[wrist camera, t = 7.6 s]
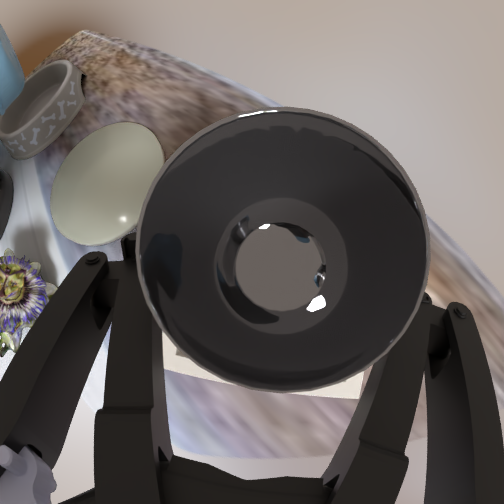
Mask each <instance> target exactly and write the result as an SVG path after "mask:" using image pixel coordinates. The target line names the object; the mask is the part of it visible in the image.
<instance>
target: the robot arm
mask: <svg viewBox="0 0 504 504" xmlns="http://www.w3.org/2000/svg"><path fill="white" fill-rule="evenodd" d="M24 84H25V78H24V73H23V70H22V67H21V65H20V63H19V60H18V58H17V56H16V53H15V51H14V49H13V47H12V45H11V43H10V41H9V39H8V37H7V35H6V33H5V31H4V29H3V28H2V26H1V24H0V116H1V115H3V114H4V113H5V110H6V109H7V108H8V107H9V106H10V105H11V103H12V102H13V101H14V100H15V99H16V98H17V97H18V96H19V95H20V94H21V92H22V90H23V88H24ZM12 199H13V184H12V180H11V177H10V176H9V175H8V174H7V173H6V172H4V171H3V170H2V169H0V239H1V237H2V234H3V232H4V229H5V227H6V224H7V221H8V218H9V214H10V210H11V205H12ZM136 234H137V232H134V233H130V234H128V235H126V236H124V237H123V238H122V240H121V246H122V252H123V257H124V260H123V261H109V262H108V259H107V256H106V254H105V253H103V252H99V251H97V252H95V251H94V252H90V253H88V254H86V255H84V256H83V257H81V258H80V260H79V261H78V262H77V263H76V265H75V266H74V267H73V269H72V270H71V271H70V272H69V274H68V275H67V276H66V278H65V279H64V281H63V282H62V283H61V285H60V286H59V287H58V289H57V290H56V292H55V293H54V294H53V296H52V297H51V299H50V300H49V302H48V303H47V304H46V306H45V307H44V309H43V310H42V312H41V313H40V315H39V316H38V318H37V319H36V321H35V323H34V324H33V326H32V327H31V329H30V330H29V332H28V334H27V335H26V337H25V338H24V340H23V342H22V343H21V345H20V347H19V349H18V350H17V352H16V354H15V355H14V357H13V359H12V361H11V363H10V364H9V366H8V368H7V370H6V372H5V374H4V376H3V377H2V379H1V381H0V504H51V500H50V493H52V492H54V491H55V490H56V486H57V484H56V481H55V480H54V477H53V473H52V469H53V468H54V466H55V464H56V462H57V460H58V458H59V456H60V453H61V451H62V448H63V445H64V442H65V439H66V436H67V433H68V430H69V427H70V424H71V421H72V418H73V415H74V412H75V410H76V407H77V404H78V401H79V399H80V396H81V393H82V391H83V388H84V386H85V383H86V380H87V378H88V375H89V373H90V371H91V368H92V366H93V363H94V361H95V358H96V356H97V354H98V351H99V349H100V347H101V344H102V342H103V340H104V338H105V335H106V333H107V331H108V329H109V327H110V324H111V322H112V325H111V332H110V340H109V348H108V357H107V366H106V377H105V390H104V404H103V408H102V409H99V410H97V412H96V415H95V424H94V483H95V487H94V488H92V489H90V490H88V491H86V492H84V493H82V494H79V495H77V496H75V497H73V498H70V499H68V500H66V501H63V502H61V503H58V504H395V501H396V499H397V496H398V493H399V491H400V488H401V485H402V483H403V480H404V477H405V474H406V471H407V468H408V464H409V459H408V457H407V456H405V453H404V452H405V448H406V445H407V441H408V438H409V435H410V431H411V427H412V424H413V420H414V416H415V412H416V408H417V403H418V399H419V394H420V389H421V384H422V379H423V373H424V374H425V385H426V400H427V430H428V443H427V444H428V445H427V473H426V486H425V497H424V504H504V446H503V437H502V430H501V423H500V416H499V411H498V405H497V400H496V395H495V390H494V386H493V382H492V377H491V373H490V369H489V366H488V362H487V358H486V355H485V351H484V348H483V345H482V342H481V338H480V335H479V332H478V329H477V326H476V323H475V321H474V318H473V315H472V313H471V311H470V310H469V309H468V308H467V307H466V306H465V305H463V304H461V303H458V302H451V303H450V304H449V305H448V307H447V309H443V308H440V307H437V306H434V305H432V300H431V298H430V296H429V295H428V294H427V293H426V292H424V295H423V297H422V300H421V303H420V306H419V309H418V311H417V312H416V314H415V316H414V318H413V320H412V321H411V323H410V325H409V326H408V328H407V330H406V331H405V333H404V334H403V335H402V337H401V338H400V339H399V340H398V341H397V342H396V344H395V345H394V346H393V347H392V348H391V349H390V350H389V351H388V353H387V354H385V355H384V356H383V357H382V358H380V359H379V360H378V361H376V362H375V363H374V365H373V367H372V370H371V373H370V375H369V378H368V381H367V383H366V386H365V388H364V391H363V393H362V396H361V398H360V401H359V403H358V406H357V408H356V410H355V413H354V415H353V417H352V419H351V422H350V424H349V426H348V428H347V430H346V432H345V435H344V437H343V439H342V441H341V443H340V445H339V447H338V449H337V451H336V453H335V455H334V457H333V459H332V461H331V463H330V464H329V466H328V468H327V469H326V471H325V472H324V474H323V475H322V477H321V478H302V477H288V476H285V477H277V478H268V479H258V480H244V479H241V478H239V477H236V476H234V475H231V474H229V473H227V472H225V471H222V470H220V469H218V468H216V467H214V466H211V465H209V464H206V463H202V462H198V461H194V460H190V459H186V458H182V457H178V456H175V455H174V454H173V450H172V446H171V441H170V433H169V424H168V414H167V404H166V392H165V379H164V363H163V341H162V329H161V328H160V327H159V325H158V323H157V322H156V320H155V318H154V316H153V314H152V312H151V310H150V308H149V307H148V305H147V303H146V300H145V297H144V294H143V291H142V287H141V284H140V281H139V277H138V270H137V262H136V252H135V249H136Z"/></svg>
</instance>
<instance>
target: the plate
mask: <svg viewBox="0 0 504 504" xmlns="http://www.w3.org/2000/svg"><path fill="white" fill-rule="evenodd" d="M165 162H166V161H165V155H164V152H163V149H162V147H161V145H160V143H159V142H158V140H157V138H156V136H155V135H154V134H153V133H152V132H151V131H150V130H149V129H147V128H146V127H144V126H142V125H140V124H136V123H131V122H121V123H114V124H111V125H107V126H105V127H102V128H100V129H98V130H96V131H94V132H93V133H91V134H89V135H88V136H87V137H85V138H84V139H83V140H82V141H80V142H79V143H78V144H77V145H76V146H75V147H74V148H73V149H72V150H71V152H70V153H69V154H68V155H67V157H66V158H65V160H64V161H63V163H62V165H61V166H60V168H59V170H58V172H57V174H56V177H55V180H54V183H53V186H52V190H51V197H50V208H51V215H52V219H53V221H54V224H55V226H56V227H57V229H58V230H59V232H60V233H61V234H62V235H63V236H65V237H66V238H68V239H70V240H72V241H74V242H76V243H78V244H80V245H84V246H101V245H105V244H109V243H111V242H114V241H116V240H118V239H120V238H121V237H123V236H125V235H126V234H127V233H129V232H130V231H131V230H133V229H134V228H135V227H136V226H137V225H138V221H139V217H140V213H141V209H142V205H143V202H144V199H145V197H146V195H147V193H148V190H149V188H150V186H151V184H152V182H153V180H154V178H155V177H156V175H157V174H158V172H159V171H160V169H161V168H162V166H163V165H164V163H165Z"/></svg>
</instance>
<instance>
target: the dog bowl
mask: <svg viewBox="0 0 504 504" xmlns="http://www.w3.org/2000/svg"><path fill="white" fill-rule="evenodd" d="M82 74H84V73H83V72H82V71H80V70H79V69H78V68H77V67H76V66H74V65H73V64H72V63H71V62H70V61H68V60H58V61H54V62H52V63H49V64H47V65H45V66H44V67H42V68H40V69H39V70H37V71H36V72H35V73H33V74H32V75H31V76H30V77H28V78H27V79H26V80H25V84H24V88H23V90H22V92H21V94H20V95H19V96H18V97H17V98H16V99H15V100H14V101H13V102H12V103H11V105H10V106H9V107H8V108H7V109H6V110H5V113H4V114H3V115H1V116H0V140H1V141H2V143H3V144H4V146H5V147H6V149H7V150H8V152H9V154H10V155H11V157H13V158H14V159H17V160H24V159H28V158H30V157H33V156H35V155H36V154H38V153H40V152H41V151H42V150H44V149H45V148H46V147H48V146H49V145H50V144H51V143H52V142H53V141H54V140H55V139H57V138H58V137H59V135H60V134H61V133H62V132H63V131H64V130H65V129H66V128H67V127H68V125H69V124H70V123H71V122H72V120H73V119H74V118H75V116H76V115H77V113H78V112H79V110H80V109H81V107H82V105H83V104H84V102H85V100H86V99H85V97H84V95H83V93H82V89H81V75H82ZM84 75H86V74H84ZM86 76H87V75H86Z"/></svg>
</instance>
